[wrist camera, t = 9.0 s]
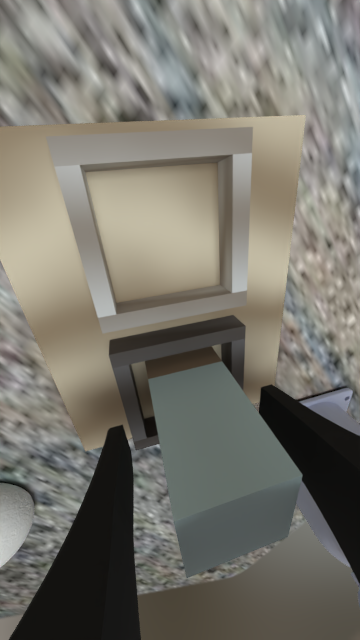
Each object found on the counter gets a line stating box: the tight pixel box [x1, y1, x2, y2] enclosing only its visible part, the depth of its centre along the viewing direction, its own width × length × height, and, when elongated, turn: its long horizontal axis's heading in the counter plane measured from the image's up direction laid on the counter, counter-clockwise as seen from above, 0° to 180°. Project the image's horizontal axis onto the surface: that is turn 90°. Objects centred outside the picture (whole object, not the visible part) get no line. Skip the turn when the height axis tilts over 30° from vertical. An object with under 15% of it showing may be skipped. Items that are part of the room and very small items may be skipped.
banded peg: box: [145, 346, 303, 578], centre depth 11 cm, size 4×4×8 cm
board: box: [0, 115, 306, 451], centre depth 12 cm, size 17×14×3 cm
